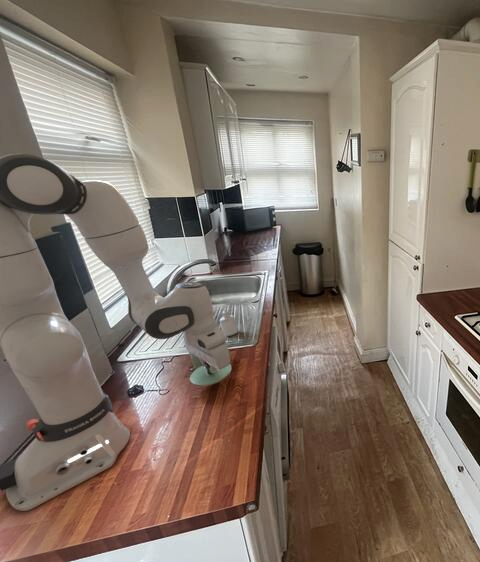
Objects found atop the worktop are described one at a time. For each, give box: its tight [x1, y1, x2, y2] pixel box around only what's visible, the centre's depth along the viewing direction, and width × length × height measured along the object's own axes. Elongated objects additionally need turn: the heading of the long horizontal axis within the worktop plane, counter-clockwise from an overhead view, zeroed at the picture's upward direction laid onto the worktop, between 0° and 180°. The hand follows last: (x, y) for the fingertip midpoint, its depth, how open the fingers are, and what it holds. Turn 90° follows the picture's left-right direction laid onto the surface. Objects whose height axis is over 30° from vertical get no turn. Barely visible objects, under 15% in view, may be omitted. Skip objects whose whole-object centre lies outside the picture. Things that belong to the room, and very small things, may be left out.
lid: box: [189, 362, 233, 387], centre depth 98 cm, size 12×12×5 cm
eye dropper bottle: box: [219, 307, 238, 337], centre depth 128 cm, size 4×6×12 cm
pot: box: [188, 351, 203, 371], centre depth 110 cm, size 10×10×8 cm
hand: (210, 369), depth 99 cm, fingers closed on lid, 2 cm apart
